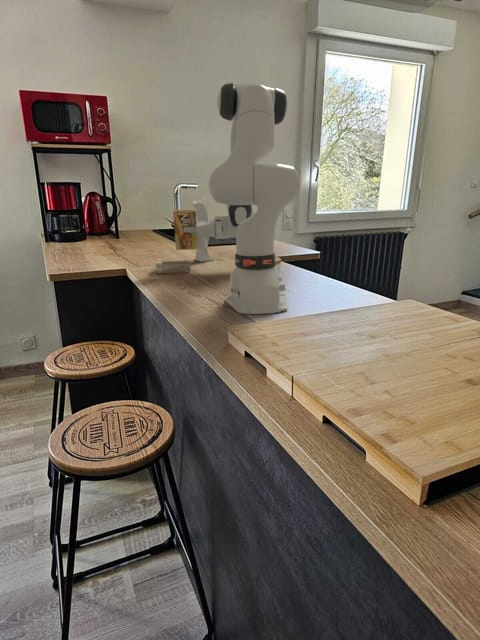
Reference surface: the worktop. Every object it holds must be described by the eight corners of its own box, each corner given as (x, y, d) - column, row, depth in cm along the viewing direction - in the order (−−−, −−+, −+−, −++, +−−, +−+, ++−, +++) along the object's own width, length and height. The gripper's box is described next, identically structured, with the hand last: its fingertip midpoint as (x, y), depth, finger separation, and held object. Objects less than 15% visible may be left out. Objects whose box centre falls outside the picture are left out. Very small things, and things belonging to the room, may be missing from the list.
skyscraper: (215, 261, 192) (213, 197, 183) (200, 263, 188) (196, 197, 179) (206, 258, 199) (203, 196, 190) (191, 260, 194) (187, 197, 186)
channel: (190, 273, 168) (189, 262, 167) (156, 274, 167) (155, 263, 165) (190, 268, 178) (189, 257, 176) (158, 269, 176) (157, 258, 175)
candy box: (198, 248, 172) (196, 209, 167) (198, 249, 168) (195, 210, 163) (177, 248, 172) (174, 209, 167) (175, 250, 168) (172, 210, 163)
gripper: (216, 217, 178) (183, 218, 176) (220, 221, 158) (183, 223, 157) (217, 232, 180) (184, 233, 178) (220, 238, 160) (184, 240, 159)
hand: (183, 228), depth 167 cm, fingers closed on candy box, 4 cm apart
